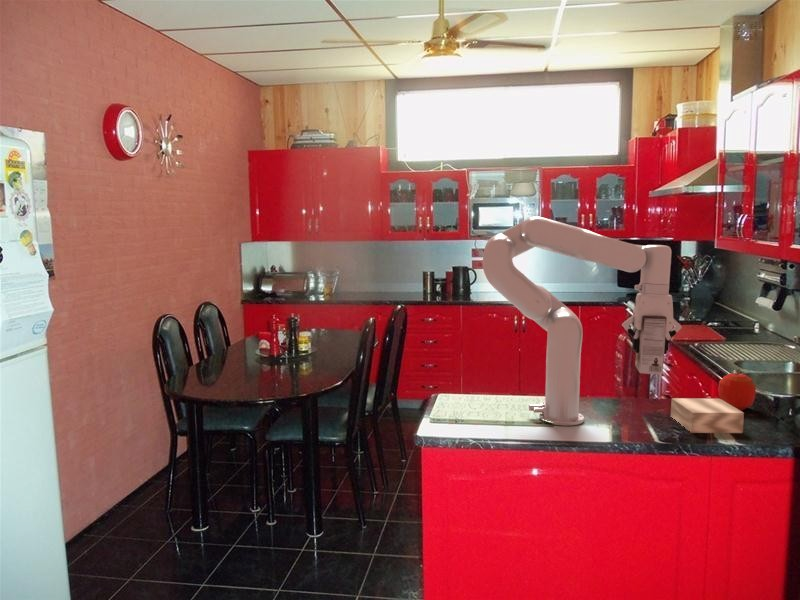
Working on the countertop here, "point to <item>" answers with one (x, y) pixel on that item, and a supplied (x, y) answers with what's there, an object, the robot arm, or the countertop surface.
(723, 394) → the apple
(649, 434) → the countertop surface
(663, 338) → the coffee box
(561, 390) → the robot arm
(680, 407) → the beech block
